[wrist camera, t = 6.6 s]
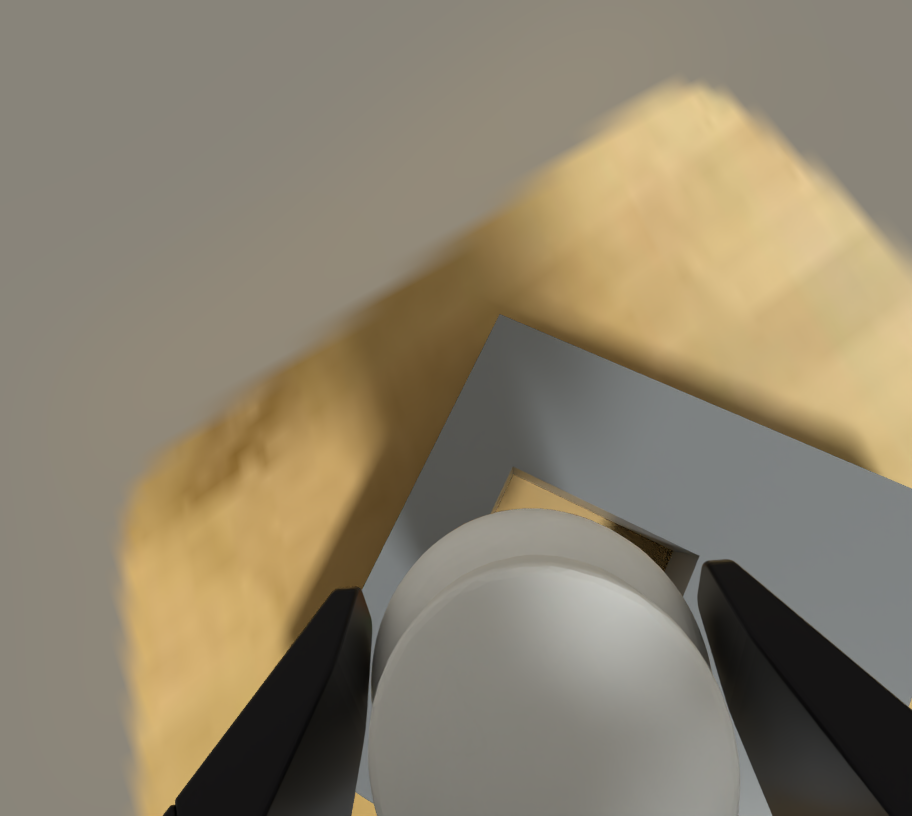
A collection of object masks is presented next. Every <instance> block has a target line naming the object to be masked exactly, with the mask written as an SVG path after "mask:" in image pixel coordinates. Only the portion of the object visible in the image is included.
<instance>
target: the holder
mask: <svg viewBox="0 0 912 816" xmlns="http://www.w3.org/2000/svg"><path fill="white" fill-rule="evenodd" d="M513 474H514V475H516V476H518V477H520V478H522V479H524V480H527V481H529V482H531V483H533V484H535V485H537V486H539V487H541V488H543V489H545V490H547V491H549V492H552V493H554V494H556V495H558V496H560V497H562V498H564V499H566V500H568V501H570V502H572V503H574V504H576V505H579V506H581V507H583V508H585V509H587V510H589V511H591V512H593V513H595V514H597V515H599V516H601V517H603V518H606V519H608V520H610V521H612V522H614V523H616V524H618V525H620V526H622V527H624V528H626V529H628V530H630V531H633V532H635V533H637V534H639V535H641V536H643V537H645V538H647V539H649V540H651V541H653V542H655V543H658V544H660V545H662V546H664V547H666V548H668V549H670V550H672V551H673V553H672V555H671V557H670V560H669V562H668V564H667V567H666V569H665V574H666V575H667V576H668V577H669V578H670V580H671V581H672V582H673V583H674V585H675V586H676V587H677V589H678V590H679V592H680V593H681V595H682V596H683V598H684V599H685V601H686V603H687V605H688V606H689V608H690V610H691V612H692V614H693V616H694V618H695V620H696V622H697V625H698V627H699V629H700V632H701V635H702V637H703V640H704V643H705V646H706V649H707V653H708V656H709V660H710V665H711V669H712V674H713V676H714V678H715V680H716V682H717V684H718V686H719V689H720V691H721V693H722V696H723V698H724V701H725V703H726V699H725V696H724V693H723V690H722V686H721V683H720V680H719V676H718V673H717V670H716V666H715V663H714V659H713V656H712V653H711V649H710V646H709V643H708V639H707V636H706V632H705V629H704V626H703V622H702V619H701V616H700V612H699V608H698V602H697V593H698V587H699V580H700V574H701V568H702V565H703V563H704V562H705V561H708V560H721V559H730V560H732V561H734V562H736V563H737V564H739V565H740V566H741V567H742V568H743V569H744V570H746V571H747V572H748V573H749V574H750V575H752V576H753V577H754V578H755V579H756V580H758V581H759V582H760V583H761V584H762V585H764V586H765V587H766V588H767V589H768V590H770V591H771V592H772V593H773V594H774V595H776V596H777V597H778V598H779V599H780V600H782V601H783V602H784V603H785V604H786V605H787V606H789V607H790V608H791V609H792V610H793V611H795V612H796V613H797V614H798V615H799V616H801V617H802V618H803V619H804V620H805V621H807V622H808V623H809V624H810V625H811V626H813V627H814V628H815V629H816V630H817V631H819V632H820V633H821V634H822V635H823V636H824V637H826V638H827V639H828V640H829V641H830V642H832V643H833V644H834V645H835V646H836V647H838V648H839V649H840V650H841V651H842V652H844V653H845V654H846V655H847V656H848V657H850V658H851V659H852V660H853V661H854V662H856V663H857V664H858V665H859V666H860V667H861V668H863V669H864V670H865V671H866V672H867V673H869V674H870V675H871V676H872V677H873V678H875V679H876V680H877V681H878V682H879V683H881V684H882V685H883V686H884V687H885V688H887V689H888V690H889V691H890V692H891V693H893V694H894V695H895V696H896V697H897V698H899V699H900V700H901V701H902V702H903V703H904V704H906V705H907V706H908V707H909V704H910V701H911V698H912V489H911V488H909V487H906V486H904V485H902V484H899V483H897V482H895V481H892V480H890V479H888V478H885V477H883V476H881V475H878V474H876V473H873V472H871V471H869V470H866V469H864V468H862V467H859V466H857V465H855V464H852V463H850V462H847V461H845V460H843V459H840V458H838V457H836V456H833V455H831V454H829V453H826V452H824V451H822V450H819V449H817V448H814V447H812V446H810V445H807V444H805V443H803V442H800V441H798V440H796V439H793V438H791V437H788V436H786V435H784V434H781V433H779V432H777V431H774V430H772V429H770V428H767V427H765V426H763V425H760V424H758V423H755V422H753V421H751V420H748V419H746V418H744V417H741V416H739V415H737V414H734V413H732V412H730V411H727V410H725V409H722V408H720V407H718V406H715V405H713V404H711V403H708V402H706V401H704V400H701V399H699V398H696V397H694V396H692V395H689V394H687V393H685V392H682V391H680V390H678V389H675V388H673V387H671V386H668V385H666V384H663V383H661V382H659V381H656V380H654V379H652V378H649V377H647V376H645V375H642V374H640V373H637V372H635V371H633V370H630V369H628V368H626V367H623V366H621V365H619V364H616V363H614V362H612V361H609V360H607V359H604V358H602V357H600V356H597V355H595V354H593V353H590V352H588V351H586V350H583V349H581V348H579V347H576V346H574V345H571V344H569V343H567V342H564V341H562V340H560V339H557V338H555V337H553V336H550V335H548V334H545V333H543V332H541V331H538V330H536V329H534V328H531V327H529V326H527V325H524V324H522V323H520V322H517V321H515V320H512V319H510V318H508V317H505V316H503V315H501V314H500V315H499V317H498V319H497V321H496V323H495V325H494V327H493V329H492V331H491V333H490V335H489V337H488V339H487V341H486V343H485V345H484V347H483V349H482V351H481V353H480V355H479V357H478V359H477V361H476V363H475V365H474V367H473V369H472V371H471V373H470V375H469V377H468V379H467V381H466V383H465V385H464V387H463V389H462V391H461V393H460V395H459V397H458V399H457V401H456V403H455V405H454V407H453V409H452V411H451V413H450V415H449V417H448V419H447V421H446V423H445V425H444V427H443V429H442V431H441V433H440V435H439V437H438V439H437V441H436V443H435V445H434V447H433V449H432V451H431V453H430V455H429V457H428V459H427V461H426V463H425V465H424V467H423V469H422V471H421V473H420V475H419V477H418V479H417V481H416V483H415V485H414V487H413V489H412V491H411V493H410V495H409V497H408V499H407V501H406V503H405V505H404V507H403V509H402V511H401V513H400V515H399V517H398V519H397V521H396V523H395V525H394V527H393V529H392V531H391V533H390V535H389V537H388V539H387V541H386V543H385V545H384V547H383V549H382V551H381V553H380V555H379V557H378V559H377V561H376V563H375V565H374V567H373V569H372V571H371V573H370V575H369V577H368V579H367V581H366V583H365V585H364V587H363V589H362V592H363V595H364V598H365V601H366V604H367V607H368V610H369V613H370V616H371V619H372V647H371V662H370V678H369V693H368V708H367V721H366V731H365V738H364V745H363V750H362V756H361V762H360V768H359V774H358V779H357V785H356V791H355V792H356V793H358V794H359V795H361V796H362V797H364V798H365V799H367V800H369V801H370V802H372V803H373V804H374V802H373V797H372V792H371V786H370V777H369V768H368V742H369V725H370V718H371V712H372V701H371V672H372V662H373V654H374V648H375V643H376V638H377V635H378V631H379V628H380V624H381V621H382V619H383V616H384V614H385V611H386V608H387V606H388V604H389V602H390V600H391V598H392V596H393V594H394V592H395V591H396V589H397V587H398V585H399V584H400V582H401V581H402V580H403V578H404V577H405V575H406V574H407V573H408V571H409V570H410V569H411V567H412V566H413V565H414V564H415V563H416V561H417V560H418V559H419V558H420V557H421V556H422V555H423V554H424V553H425V552H426V551H427V550H428V549H429V548H430V547H431V546H432V545H434V544H435V543H436V542H437V541H439V540H440V539H441V538H443V537H444V536H445V535H447V534H448V533H450V532H451V531H453V530H454V529H456V528H458V527H459V526H461V525H463V524H465V523H467V522H469V521H472V520H474V519H477V518H479V517H482V516H485V515H489V514H493V513H495V512H496V509H497V507H498V505H499V503H500V501H501V499H502V497H503V495H504V493H505V490H506V488H507V486H508V484H509V482H510V480H511V478H512V476H513ZM726 706H727V703H726ZM727 709H728V706H727ZM728 711H729V709H728ZM729 715H730V718H731V722H732V725H733V729H734V733H735V739H736V745H737V750H738V756H739V766H740V800H739V812H738V816H772V814H771V811H770V809H769V807H768V804H767V802H766V799H765V797H764V795H763V792H762V790H761V787H760V785H759V782H758V780H757V778H756V775H755V773H754V770H753V768H752V766H751V763H750V761H749V758H748V756H747V754H746V751H745V749H744V746H743V744H742V742H741V739H740V737H739V734H738V732H737V729H736V727H735V725H734V722H733V719H732V717H731V714H730V712H729Z"/></svg>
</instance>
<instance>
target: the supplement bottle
mask: <svg viewBox="0 0 912 816" xmlns="http://www.w3.org/2000/svg"><path fill="white" fill-rule="evenodd" d="M371 701H372V712H371V718H370V725H369V742H368V768H369V777H370V786H371V792H372V797H373V802H374V806H375V810H376V813H377V816H738V812H739V800H740V766H739V756H738V750H737V745H736V739H735V733H734V729H733V725H732V722H731V718H730V715H729V711H728V709H727V706H726V703H725V701H724V698H723V696H722V693H721V691H720V689H719V686H718V684H717V682H716V680H715V678H714V676H713V674H712V669H711V665H710V660H709V656H708V653H707V649H706V646H705V643H704V640H703V637H702V635H701V632H700V629H699V627H698V625H697V622H696V620H695V618H694V616H693V614H692V612H691V610H690V608H689V606H688V605H687V603H686V601H685V599H684V598H683V596H682V595H681V593H680V592H679V590H678V589H677V587H676V586H675V585H674V583H673V582H672V581H671V580H670V578H669V577H668V576H667V575H666V574H665V572H664V571H663V570H662V569H661V568H660V567H659V566H658V565H657V564H656V563H655V562H654V561H653V560H652V559H651V558H650V557H649V556H648V555H647V554H646V553H645V552H643V551H642V550H641V549H640V548H639V547H637V546H636V545H635V544H633V543H632V542H630V541H629V540H627V539H626V538H624V537H623V536H621V535H619V534H618V533H616V532H614V531H613V530H611V529H609V528H607V527H605V526H603V525H600V524H598V523H596V522H594V521H592V520H589V519H587V518H584V517H581V516H578V515H575V514H570V513H566V512H561V511H556V510H549V509H541V508H540V509H526V508H524V509H514V510H507V511H501V512H496V513H493V514H489V515H485V516H482V517H479V518H477V519H474V520H472V521H469V522H467V523H465V524H463V525H461V526H459V527H458V528H456V529H454V530H453V531H451V532H450V533H448V534H447V535H445V536H444V537H443V538H441V539H440V540H439V541H437V542H436V543H435V544H434V545H432V546H431V547H430V548H429V549H428V550H427V551H426V552H425V553H424V554H423V555H422V556H421V557H420V558H419V559H418V560H417V561H416V563H415V564H414V565H413V566H412V567H411V569H410V570H409V571H408V573H407V574H406V575H405V577H404V578H403V580H402V581H401V582H400V584H399V585H398V587H397V589H396V591H395V592H394V594H393V596H392V598H391V600H390V602H389V604H388V606H387V608H386V611H385V614H384V616H383V619H382V621H381V624H380V628H379V631H378V635H377V638H376V643H375V648H374V654H373V662H372V672H371Z"/></svg>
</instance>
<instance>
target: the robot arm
mask: <svg viewBox="0 0 912 816" xmlns="http://www.w3.org/2000/svg"><path fill="white" fill-rule="evenodd" d="M697 602H698V608H699V612H700V616H701V619H702V622H703V626H704V629H705V632H706V636H707V639H708V643H709V646H710V649H711V653H712V656H713V659H714V663H715V666H716V670H717V673H718V676H719V680H720V683H721V686H722V690H723V693H724V696H725V699H726V703H727V706H728V709H729V712H730V714H731V717H732V719H733V722H734V725H735V727H736V729H737V732H738V734H739V737H740V739H741V742H742V744H743V746H744V749H745V751H746V754H747V756H748V758H749V761H750V763H751V766H752V768H753V770H754V773H755V775H756V778H757V780H758V782H759V785H760V787H761V790H762V792H763V795H764V797H765V799H766V802H767V804H768V807H769V809H770V811H771V814H772V816H912V709H910V708H909V707H908V706H907V705H906V704H904V703H903V702H902V701H901V700H900V699H899V698H897V697H896V696H895V695H894V694H893V693H891V692H890V691H889V690H888V689H887V688H885V687H884V686H883V685H882V684H881V683H879V682H878V681H877V680H876V679H875V678H873V677H872V676H871V675H870V674H869V673H867V672H866V671H865V670H864V669H863V668H861V667H860V666H859V665H858V664H857V663H856V662H854V661H853V660H852V659H851V658H850V657H848V656H847V655H846V654H845V653H844V652H842V651H841V650H840V649H839V648H838V647H836V646H835V645H834V644H833V643H832V642H830V641H829V640H828V639H827V638H826V637H824V636H823V635H822V634H821V633H820V632H819V631H817V630H816V629H815V628H814V627H813V626H811V625H810V624H809V623H808V622H807V621H805V620H804V619H803V618H802V617H801V616H799V615H798V614H797V613H796V612H795V611H793V610H792V609H791V608H790V607H789V606H787V605H786V604H785V603H784V602H783V601H782V600H780V599H779V598H778V597H777V596H776V595H774V594H773V593H772V592H771V591H770V590H768V589H767V588H766V587H765V586H764V585H762V584H761V583H760V582H759V581H758V580H756V579H755V578H754V577H753V576H752V575H750V574H749V573H748V572H747V571H746V570H744V569H743V568H742V567H741V566H740V565H739V564H737V563H736V562H734V561H732V560H730V559H721V560H708V561H705V562H704V563H703V565H702V568H701V574H700V580H699V587H698V593H697ZM371 647H372V619H371V616H370V613H369V610H368V607H367V604H366V601H365V598H364V595H363V592H362V590H361V589H360V588H359V587H344V588H337V589H335V590H334V591H333V592H332V593H331V594H330V595H329V597H328V598H327V599H326V601H325V602H324V603H323V605H322V606H321V607H320V609H319V610H318V611H317V613H316V614H315V615H314V617H313V618H312V619H311V621H310V622H309V623H308V625H307V626H306V627H305V629H304V630H303V631H302V632H301V634H300V635H299V636H298V638H297V639H296V640H295V642H294V643H293V644H292V646H291V647H290V648H289V650H288V651H287V652H286V654H285V655H284V656H283V658H282V659H281V660H280V662H279V663H278V664H277V666H276V667H275V668H274V670H273V671H272V672H271V674H270V675H269V676H268V677H267V679H266V680H265V681H264V683H263V684H262V685H261V687H260V688H259V689H258V691H257V692H256V693H255V695H254V696H253V697H252V699H251V700H250V701H249V703H248V704H247V705H246V707H245V708H244V709H243V711H242V712H241V713H240V715H239V716H238V717H237V719H236V720H235V721H234V722H233V724H232V725H231V726H230V728H229V729H228V730H227V732H226V733H225V734H224V736H223V737H222V738H221V740H220V741H219V742H218V744H217V745H216V746H215V748H214V749H213V750H212V752H211V753H210V754H209V756H208V757H207V758H206V760H205V761H204V762H203V764H202V765H201V766H200V767H199V769H198V770H197V771H196V773H195V774H194V775H193V777H192V778H191V779H190V781H189V782H188V783H187V785H186V786H185V787H184V789H183V790H182V791H181V793H180V794H179V795H178V797H177V798H176V800H175V805H171V806H170V807H169V808H168V810H167V811H166V812H165V813H164V815H163V816H351V814H352V808H353V803H354V797H355V791H356V785H357V779H358V774H359V768H360V762H361V756H362V750H363V745H364V738H365V731H366V721H367V708H368V693H369V678H370V662H371Z"/></svg>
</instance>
